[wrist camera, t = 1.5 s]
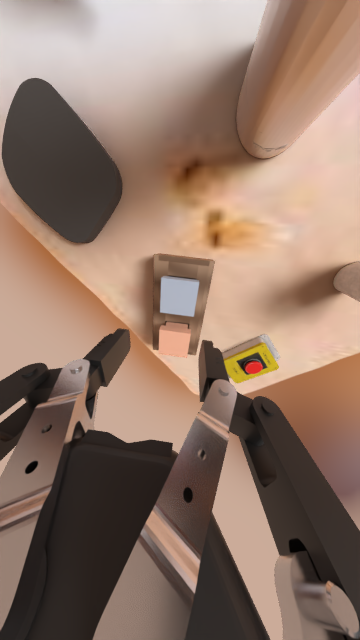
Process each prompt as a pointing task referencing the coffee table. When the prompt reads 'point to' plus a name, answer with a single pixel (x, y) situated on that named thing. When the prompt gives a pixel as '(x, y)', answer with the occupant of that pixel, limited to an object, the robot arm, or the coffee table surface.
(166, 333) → the terracotta key
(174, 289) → the slate-blue key
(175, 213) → the coffee table surface
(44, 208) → the media streaming box
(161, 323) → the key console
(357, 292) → the house plant
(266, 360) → the emergency button
